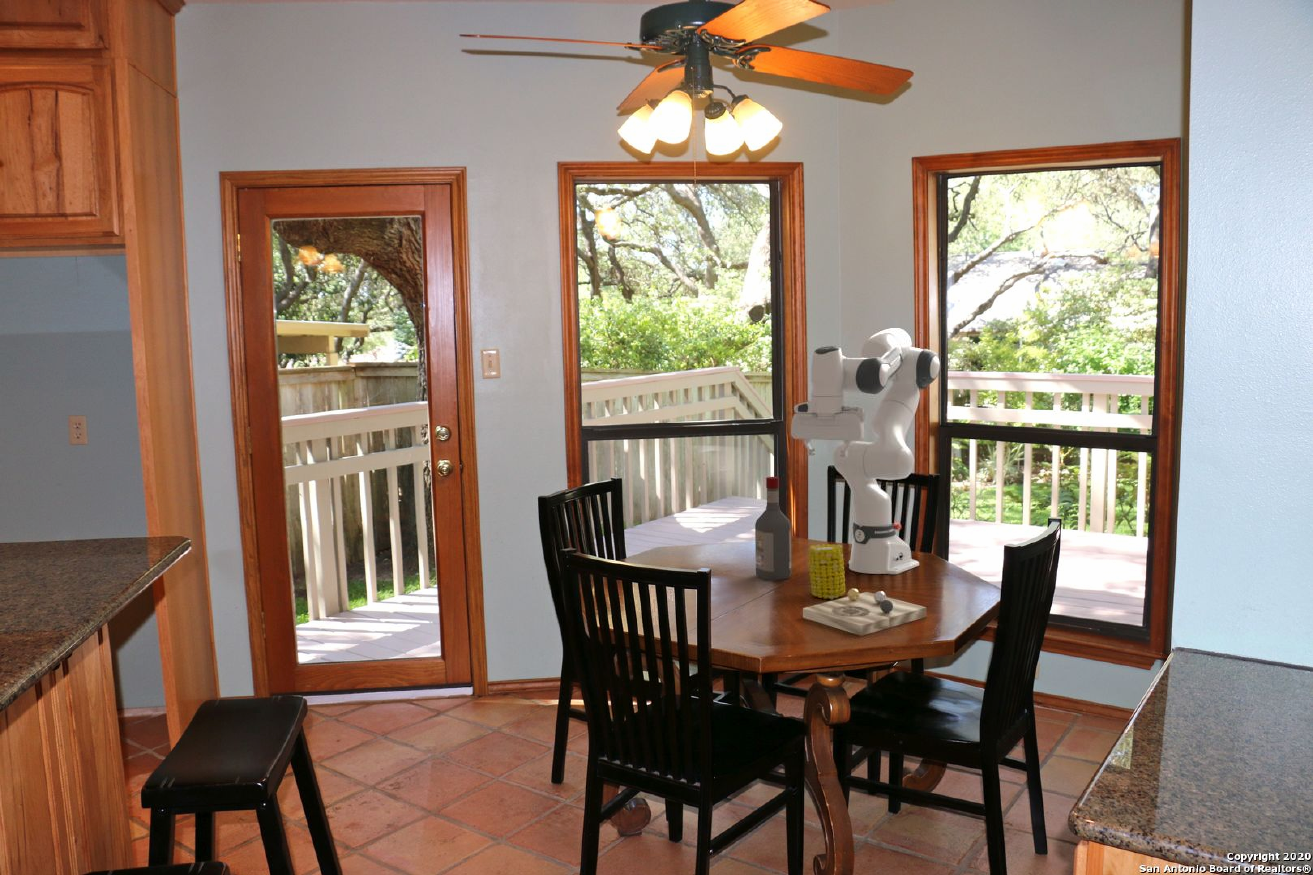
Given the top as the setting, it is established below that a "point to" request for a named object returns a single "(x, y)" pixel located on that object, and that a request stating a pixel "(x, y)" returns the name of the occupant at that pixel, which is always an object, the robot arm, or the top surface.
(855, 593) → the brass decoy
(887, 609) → the dark grey ball
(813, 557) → the food
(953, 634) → the top surface
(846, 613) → the board
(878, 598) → the steel ball
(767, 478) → the liquor
